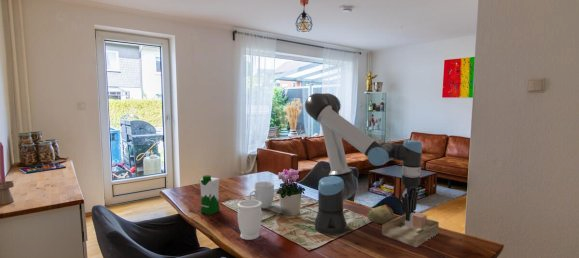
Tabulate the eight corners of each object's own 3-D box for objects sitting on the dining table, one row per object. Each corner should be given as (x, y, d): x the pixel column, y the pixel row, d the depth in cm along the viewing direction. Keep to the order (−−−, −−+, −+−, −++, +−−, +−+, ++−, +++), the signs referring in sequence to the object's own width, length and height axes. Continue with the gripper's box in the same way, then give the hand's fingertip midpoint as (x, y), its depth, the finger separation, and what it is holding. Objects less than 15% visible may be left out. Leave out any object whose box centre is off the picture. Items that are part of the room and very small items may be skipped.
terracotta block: (410, 225, 141) (410, 214, 141) (415, 222, 145) (416, 212, 144) (420, 228, 138) (421, 217, 137) (426, 225, 141) (426, 215, 140)
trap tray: (381, 234, 137) (382, 222, 137) (405, 222, 150) (405, 212, 150) (416, 247, 125) (416, 234, 125) (438, 233, 138) (438, 221, 137)
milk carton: (198, 213, 163) (197, 176, 161) (209, 207, 171) (208, 172, 169) (211, 215, 159) (210, 178, 157) (222, 210, 167) (221, 174, 166)
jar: (239, 242, 129) (238, 208, 128) (236, 232, 139) (236, 200, 138) (264, 239, 132) (263, 205, 131) (259, 229, 142) (259, 198, 141)
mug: (253, 212, 164) (253, 188, 163) (245, 206, 173) (244, 183, 172) (277, 207, 172) (277, 184, 170) (268, 202, 181) (268, 180, 180)
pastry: (401, 222, 151) (402, 207, 150) (384, 228, 144) (384, 211, 143) (379, 213, 163) (379, 199, 162) (362, 218, 156) (362, 203, 155)
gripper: (412, 179, 128) (409, 233, 130) (426, 174, 136) (423, 225, 139) (395, 176, 133) (393, 228, 136) (410, 171, 142) (407, 220, 144)
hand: (408, 226), depth 137 cm, fingers closed
